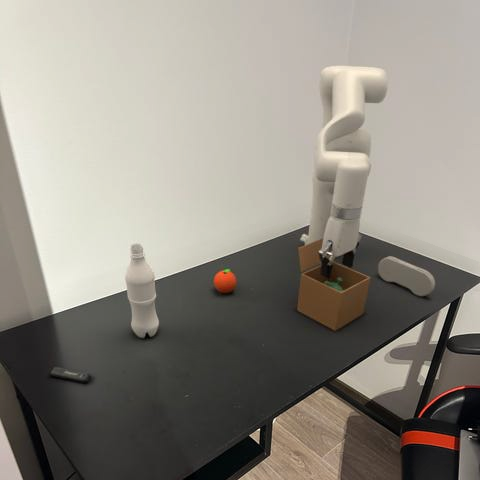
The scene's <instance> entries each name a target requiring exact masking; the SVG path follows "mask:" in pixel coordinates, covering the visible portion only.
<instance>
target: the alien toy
mask: <svg viewBox="0 0 480 480" xmlns="http://www.w3.org/2000/svg"><path fill="white" fill-rule="evenodd" d="M337 280H338V283H334V282H330V283H329V281H325V282H324V284H325V285H327V286H329V287H332V288H334V289H336V290H338V291H340V292H342V291H344V290H343V289H342V287H341V286H340V285H339V282H341V281H342V278H337Z"/></svg>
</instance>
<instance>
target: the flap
mask: <svg viewBox="0 0 480 480" xmlns="http://www.w3.org/2000/svg"><path fill="white" fill-rule="evenodd" d="M322 244H323V238H322V239H319V240H317V241H314V242H312V243H309V244H307V245H305V244H304V245H302V246H300V247H298V248H297V250H298V259H299V267H300V273H304V272H306V271H308V270H310V269H312V268H315V267H317V266H319V265H321V264H322V262H321V260H320V259H319V258H320V257H319V251H320V249H321V248H322ZM330 253H331V250H330ZM327 258H328V259H330V258H331V256H330V255H328V256H327Z"/></svg>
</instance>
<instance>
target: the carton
mask: <svg viewBox="0 0 480 480" xmlns="http://www.w3.org/2000/svg"><path fill="white" fill-rule="evenodd" d="M321 265H322V264H319V265H317V266H314V267H312V268H310V269H308V270H306V271H303V272H301V273H300V280H299V288H298V297H297V305H296V311H297V312H299V313H301V314H302V315H305V316H307V317H309V318H311V320H314V321H316V322H318V323H320V324H321V325H324V326H325V327H327V328H329V329H331V330H332V331H334V332H336V331H338V330H339V329H341V328H343V327H344V326H346V325H348V324H349V323H351V322H352V321H354V320H356V319H357V318H359V317H360V316H362V315H363V314H364V313H365V307H366V303H367V299H368V293H369V290H370V289H369V288H370V285H371V279H372V277H371V276H368V275H366V274H364V273H362V272H359V271H357V270H354V269H352V268H350V267H348V266H345V265H343V264H340V263H338V262H335V261H333V262H332V265H333V267H332V274H331V278H329V279H328V278H326V277H324V276H322V275H321V274H320V272H321ZM337 278H342V281H341V282H339V285H340V286H341V287H342V289H343V290H344V291H342V292H340V291H338V290H336V289H334V288H332V287H329V286H327V285H325V284H324V282H325V281H329V283H330V282H334V283H338V280H337Z"/></svg>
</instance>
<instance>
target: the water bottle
mask: <svg viewBox="0 0 480 480" xmlns="http://www.w3.org/2000/svg"><path fill="white" fill-rule="evenodd" d="M129 249H130V252H129V257H130V262H129V264H128V266H127V269H126V272H125V275H124V280H125V284H126V293H127V299H128V301H129V304H130V305H129V306H130V308H131V321H130V326H131V329H132V331H133V333H134V334H135V335H136V336H137V337H138V338H139V339H140V338H141V339H144V338H145V337H146V334H148V336H149V337H150V338H153V337H154V336H155V335H156V333H157V332H158V329H159V325H160V320H159V318H158V317H159V316H158V315H157V311H156V305H155V304H156V298H157V293H156V292H157V291H156V283H155V282H156V280H155V276H156V275H155V272H154V271H153V268H152V267H151V265H150V264H149V263H148V262H147V260H146V257H145V256H146V254H145V250H144V245H143V244H141V243H133V244H131V245H130V246H129Z"/></svg>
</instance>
